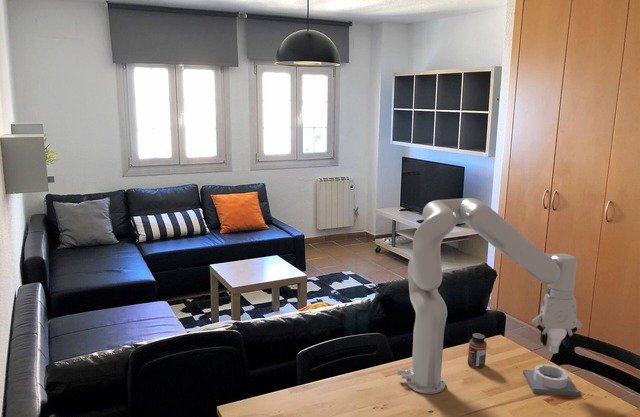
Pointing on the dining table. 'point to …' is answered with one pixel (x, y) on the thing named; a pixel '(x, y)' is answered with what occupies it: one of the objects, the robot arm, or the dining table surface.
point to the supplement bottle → (477, 351)
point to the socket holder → (550, 380)
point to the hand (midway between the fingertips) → (554, 344)
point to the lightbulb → (555, 338)
